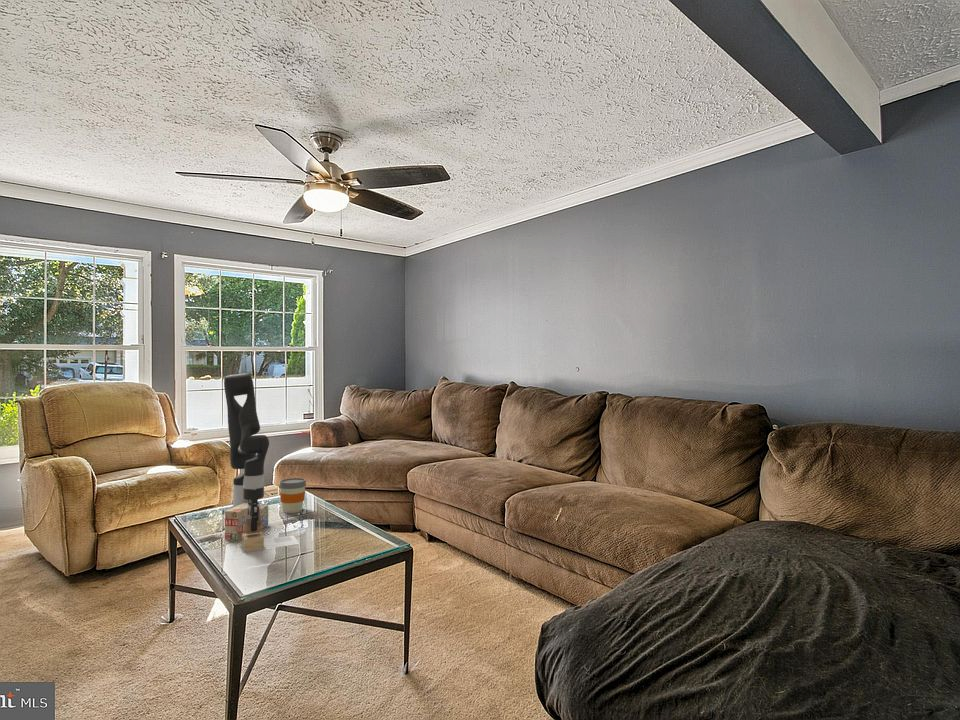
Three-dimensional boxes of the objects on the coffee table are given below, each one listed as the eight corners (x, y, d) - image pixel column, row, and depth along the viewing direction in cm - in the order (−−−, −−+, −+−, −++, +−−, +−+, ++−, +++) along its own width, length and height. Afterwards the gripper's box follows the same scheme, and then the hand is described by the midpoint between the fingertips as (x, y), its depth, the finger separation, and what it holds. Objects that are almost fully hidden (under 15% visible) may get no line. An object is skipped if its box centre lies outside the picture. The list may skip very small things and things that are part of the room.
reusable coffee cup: (310, 508, 258) (311, 479, 258) (293, 515, 246) (294, 484, 247) (291, 506, 262) (291, 477, 263) (273, 512, 251) (273, 482, 251)
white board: (236, 544, 204) (236, 543, 204) (293, 536, 216) (293, 535, 216) (239, 554, 194) (239, 553, 194) (299, 544, 205) (299, 543, 205)
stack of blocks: (256, 524, 231) (256, 497, 231) (268, 525, 230) (269, 498, 230) (224, 540, 210) (224, 510, 210) (237, 541, 209) (238, 511, 209)
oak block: (242, 546, 201) (242, 533, 201) (261, 543, 205) (261, 531, 205) (244, 552, 195) (244, 539, 195) (263, 549, 199) (263, 536, 199)
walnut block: (245, 530, 201) (245, 515, 201) (258, 528, 204) (259, 513, 204) (246, 534, 197) (247, 518, 197) (260, 532, 199) (260, 517, 199)
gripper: (241, 483, 205) (240, 525, 204) (245, 490, 192) (244, 535, 192) (261, 481, 209) (260, 523, 208) (266, 488, 196) (265, 532, 196)
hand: (252, 529), depth 200 cm, fingers closed on walnut block, 5 cm apart
